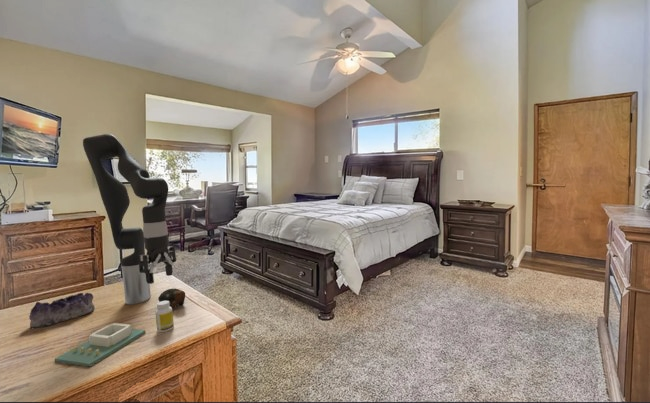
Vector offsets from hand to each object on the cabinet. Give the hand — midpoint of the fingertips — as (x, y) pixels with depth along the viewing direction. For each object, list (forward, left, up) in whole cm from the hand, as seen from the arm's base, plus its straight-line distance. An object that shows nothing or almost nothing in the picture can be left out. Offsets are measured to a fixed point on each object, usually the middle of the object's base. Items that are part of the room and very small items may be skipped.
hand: (160, 279), depth 111 cm
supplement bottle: (0, 0, -19) cm, 19 cm away
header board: (+14, -12, -19) cm, 26 cm away
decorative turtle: (-17, -12, -19) cm, 28 cm away
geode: (0, -50, -19) cm, 54 cm away
